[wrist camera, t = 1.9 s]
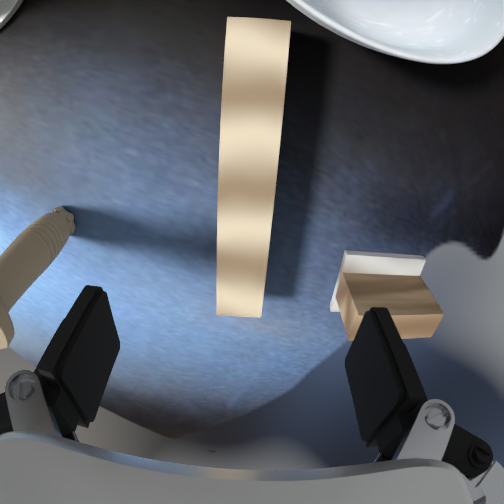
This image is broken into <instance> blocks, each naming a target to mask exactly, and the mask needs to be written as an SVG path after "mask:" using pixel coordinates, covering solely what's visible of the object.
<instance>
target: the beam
mask: <svg viewBox="0 0 504 504" xmlns="http://www.w3.org/2000/svg"><path fill="white" fill-rule="evenodd" d="M290 29H291V21H284V20H274V19H262V18H245V17H227V29H226V42H225V56H224V71H223V87H222V106H221V126H220V149H219V177H218V215H217V315H225V316H242V317H261V313H262V304H263V296H264V288H265V279H266V271H267V262H268V253H269V244H270V235H271V226H272V217H273V208H274V198H275V189H276V179H277V170H278V160H279V150H280V140H281V130H282V119H283V109H284V98H285V87H286V76H287V64H288V53H289V41H290Z"/></svg>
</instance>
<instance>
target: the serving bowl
mask: <svg viewBox="0 0 504 504" xmlns="http://www.w3.org/2000/svg"><path fill="white" fill-rule="evenodd" d="M286 1H288V2H289V3H290V4H291V5H292V6H294V7H295V8H296V9H298V10H299V11H300V12H302V13H303V14H305V15H306V16H307V17H309V18H310V19H312V20H313V21H315V22H317V23H318V24H320V25H321V26H323V27H325V28H327V29H328V30H330V31H332V32H334V33H336V34H338V35H339V36H341V37H344V38H346V39H348V40H350V41H352V42H354V43H357V44H359V45H361V46H364V47H366V48H369V49H372V50H375V51H378V52H381V53H384V54H387V55H391V56H395V57H398V58H403V59H407V60H412V61H417V62H423V63H430V64H455V63H462V62H467V61H470V60H474V59H476V58H479V57H481V56H483V55H485V54H486V53H488V52H489V51H491V50H492V49H493V48H494V47H495V46H497V44H498V43H499V42H500V41H501V40H502V38H503V37H504V0H286Z"/></svg>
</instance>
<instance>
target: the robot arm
mask: <svg viewBox="0 0 504 504" xmlns="http://www.w3.org/2000/svg"><path fill="white" fill-rule="evenodd" d="M22 2H23V0H0V29H1V28H2V27H3V26H4V25H5V24H6V23H7V22H8V21H9V19H10V18H11V17H12V16H13V15H14V13H15V12H16V11H17V9H18V8H19V6H20V5H21V3H22ZM119 349H120V341H119V337H118V334H117V330H116V327H115V323H114V320H113V316H112V312H111V308H110V304H109V301H108V296H107V293H106V292H105V291H103V289H102V288H101V287H98V286H90V285H87V286H85V287H84V289H83V290H82V292H81V293H80V295H79V297H78V298H77V300H76V301H75V303H74V304H73V306H72V308H71V309H70V311H69V313H68V314H67V316H66V318H64V320H63V321H62V322H61V324H60V326H59V327H58V329H57V331H56V333H55V334H54V336H53V338H52V340H51V341H50V343H49V345H48V347H47V349H46V350H45V352H44V354H43V356H42V358H41V360H40V361H39V363H38V365H37V367H36V369H35V371H34V372H31V371H29V370H21V371H18V372H16V373H14V374H13V375H12V376H11V377H10V378H9V379H8V381H7V382H6V386H5V392H4V393H1V394H0V504H504V468H503V467H502V466H501V465H500V464H499V463H498V462H497V461H496V462H493V461H492V460H493V454H492V450H491V448H490V446H489V445H488V444H487V443H486V442H485V441H483V440H482V439H479V438H478V437H476V436H475V435H473V434H471V433H469V432H468V431H466V430H464V429H463V428H461V427H459V426H458V425H456V424H454V422H455V417H454V413H453V411H452V409H451V407H450V406H449V405H448V404H446V403H445V402H443V401H441V400H438V399H437V400H436V399H432V400H427V397H426V394H425V392H424V389H423V387H422V384H421V382H420V379H419V377H418V374H417V372H416V369H415V367H414V364H413V362H412V359H411V357H410V355H409V352H408V350H407V348H406V346H405V344H404V343H403V341H402V339H401V337H400V334H399V332H398V330H397V328H396V325H395V323H394V321H393V319H392V317H391V315H390V312H389V310H388V309H387V308H386V307H371V308H370V310H369V311H366V312H365V314H364V316H363V319H362V321H361V324H360V326H359V328H358V331H357V333H356V336H355V338H354V340H353V342H352V345H351V347H350V349H349V352H348V354H347V356H346V358H345V368H346V373H347V377H348V381H349V385H350V389H351V394H352V398H353V403H354V407H355V411H356V416H357V421H358V426H359V430H360V434H361V439H362V440H363V441H366V446H367V447H374V446H378V449H379V452H380V453H379V455H378V457H377V458H376V460H375V462H374V463H368V464H362V465H352V466H343V467H334V468H321V469H306V470H236V469H220V468H210V467H199V466H191V465H183V464H176V463H169V462H163V461H157V460H151V459H146V458H141V457H136V456H131V455H127V454H122V453H118V452H114V451H110V450H106V449H102V448H98V447H94V446H90V445H87V444H83V443H80V442H79V440H78V438H77V436H76V434H75V430H76V427H77V425H79V426H83V427H86V428H88V426H89V423H90V422H93V421H94V419H95V417H96V414H97V411H98V408H99V405H100V402H101V399H102V396H103V393H104V390H105V387H106V385H107V382H108V379H109V376H110V374H111V371H112V368H113V365H114V363H115V360H116V358H117V355H118V352H119Z"/></svg>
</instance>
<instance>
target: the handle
mask: <svg viewBox="0 0 504 504" xmlns="http://www.w3.org/2000/svg"><path fill="white" fill-rule="evenodd" d="M75 228H76V226H75V224H74V216H73V214H72V213H69V212H67V211H66V210H65V209H64V208H63V207H57V208H55V209H54V210H52V212H51V213H48V214H46V215H44V216H42V217H40V218H39V219H37V220H36V221H35V222H33V223H32V224H31V225H30V226H28V227H27V228H26V229H25V230H24V231H23V232H22V233H21V234H19V236H18V237H17V238H16V239H15V240H14V241H13V242H12V243H11V244H10V246H9V247H8V248H7V249H6V250H5V251H4V252H3V254H2V255H1V256H0V349H3V348H7V347H8V346H9V344H10V342H11V341H12V339H13V337H14V327H13V323H12V321H11V318H10V316H9V314H8V312H9V311H10V309H11V308H12V306H13V305H14V304H15V303H16V302H17V301H18V299H19V298H20V297H21V296H22V295H23V293H24V292H25V291H26V290H27V289H28V288H29V287H30V286H31V285H32V283H33V282H34V281H35V280H36V279H37V278H38V277H39V276H40V275H41V274H42V273H43V272H44V271H45V270H46V269H47V268H48V266H49V265H50V264H51V263H52V261H53V260H54V259H55V258H56V257H57V255H58V254H59V253H60V251H61V250H62V248H63V247H64V245H65V244H66V242H67V240H68V238H69V236H71V235H72V234H73V232H74V230H75Z"/></svg>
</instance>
